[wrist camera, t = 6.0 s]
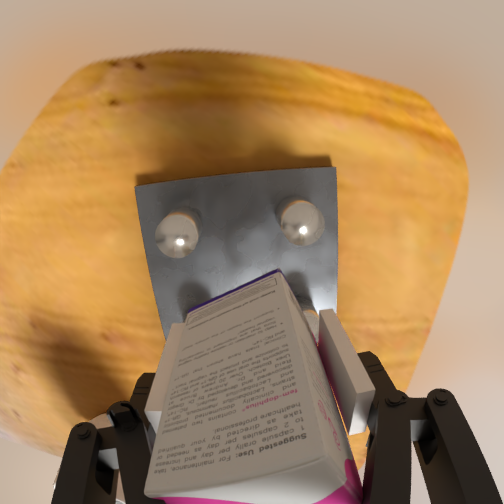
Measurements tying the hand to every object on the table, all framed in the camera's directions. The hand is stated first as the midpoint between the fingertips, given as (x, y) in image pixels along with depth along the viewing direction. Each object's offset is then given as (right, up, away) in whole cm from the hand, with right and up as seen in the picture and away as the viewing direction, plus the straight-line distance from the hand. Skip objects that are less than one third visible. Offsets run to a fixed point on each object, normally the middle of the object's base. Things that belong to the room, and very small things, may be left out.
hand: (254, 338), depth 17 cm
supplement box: (0, 0, +1) cm, 1 cm away
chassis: (-1, +3, +10) cm, 11 cm away
